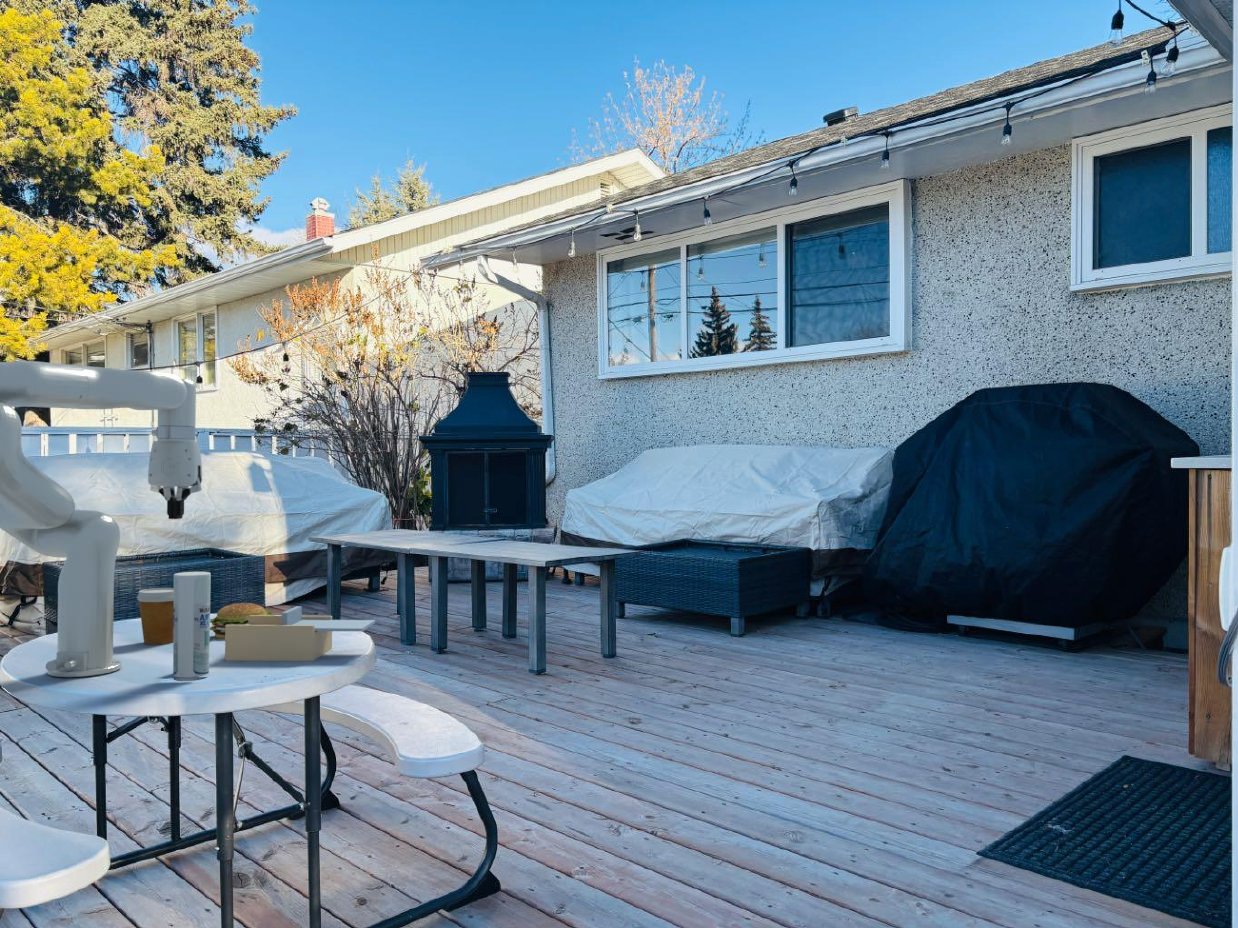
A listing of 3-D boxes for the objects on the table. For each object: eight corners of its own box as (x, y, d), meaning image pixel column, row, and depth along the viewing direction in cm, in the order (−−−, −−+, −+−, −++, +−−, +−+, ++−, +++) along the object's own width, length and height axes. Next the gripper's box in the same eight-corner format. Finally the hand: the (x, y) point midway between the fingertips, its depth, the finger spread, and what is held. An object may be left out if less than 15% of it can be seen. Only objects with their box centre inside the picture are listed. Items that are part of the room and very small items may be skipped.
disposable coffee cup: (169, 646, 206) (169, 593, 206) (127, 646, 206) (128, 592, 206) (190, 638, 215) (190, 587, 215) (150, 638, 215) (150, 587, 215)
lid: (362, 631, 189) (362, 614, 189) (277, 630, 189) (277, 613, 189) (375, 622, 200) (375, 606, 200) (294, 622, 200) (294, 605, 200)
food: (235, 644, 209) (236, 609, 209) (198, 638, 217) (199, 604, 217) (286, 635, 221) (286, 602, 221) (249, 629, 228) (250, 597, 228)
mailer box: (312, 664, 188) (313, 625, 188) (224, 664, 188) (225, 625, 188) (331, 652, 201) (332, 615, 201) (249, 651, 201) (249, 615, 201)
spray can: (180, 673, 179) (181, 571, 179) (214, 673, 179) (216, 571, 179) (166, 681, 172) (167, 575, 172) (201, 681, 173) (203, 575, 173)
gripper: (133, 434, 197) (132, 519, 197) (203, 434, 197) (202, 520, 197) (150, 435, 204) (149, 517, 204) (218, 436, 205) (217, 518, 205)
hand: (175, 518), depth 201 cm, fingers closed
